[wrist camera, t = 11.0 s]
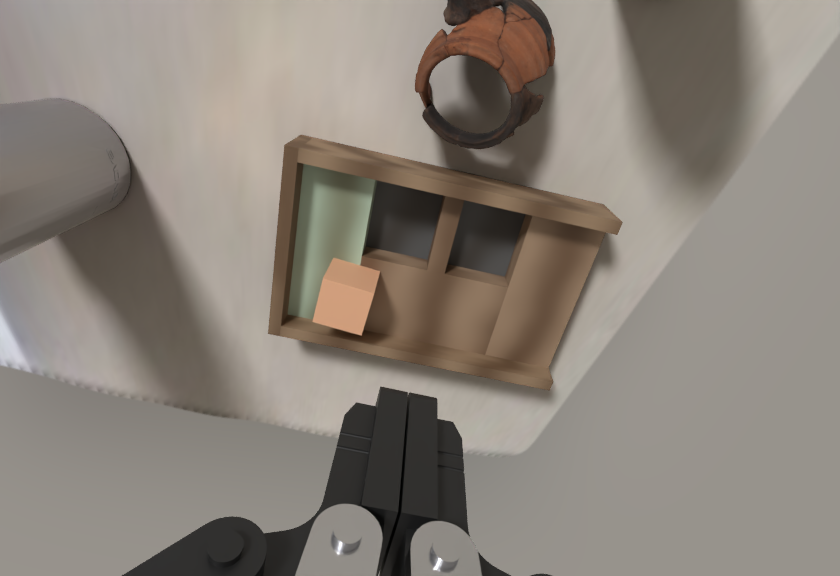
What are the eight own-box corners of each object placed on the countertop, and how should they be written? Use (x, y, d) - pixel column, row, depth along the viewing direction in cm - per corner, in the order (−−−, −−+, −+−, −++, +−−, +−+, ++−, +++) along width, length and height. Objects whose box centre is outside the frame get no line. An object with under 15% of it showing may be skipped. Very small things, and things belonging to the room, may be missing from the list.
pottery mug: (574, 87, 35) (554, 148, 31) (462, 112, 40) (429, 169, 36) (536, -105, 28) (500, -63, 23) (404, -44, 33) (352, 1, 28)
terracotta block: (323, 298, 41) (312, 321, 37) (333, 257, 39) (322, 278, 35) (368, 310, 41) (361, 335, 38) (380, 271, 39) (374, 293, 36)
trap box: (283, 307, 44) (268, 333, 40) (301, 134, 37) (284, 144, 33) (539, 360, 46) (549, 390, 42) (603, 204, 39) (622, 222, 35)
